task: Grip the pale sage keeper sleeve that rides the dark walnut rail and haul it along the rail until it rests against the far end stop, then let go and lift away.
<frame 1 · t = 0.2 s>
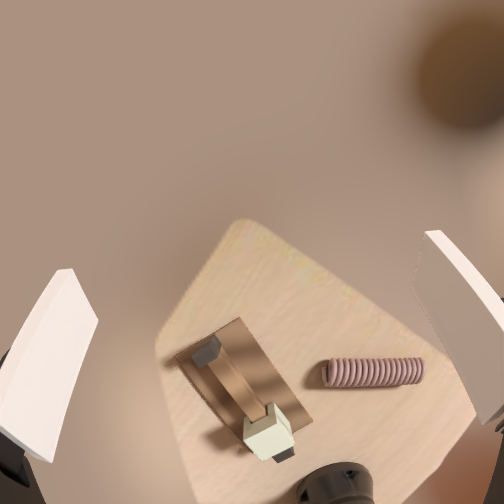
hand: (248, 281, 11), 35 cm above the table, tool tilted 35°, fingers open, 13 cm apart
keeper: (268, 431, 41), point 5 cm above the table, slide at 0.0 cm
track: (246, 391, 45), on the table
coil: (371, 367, 46), on the table
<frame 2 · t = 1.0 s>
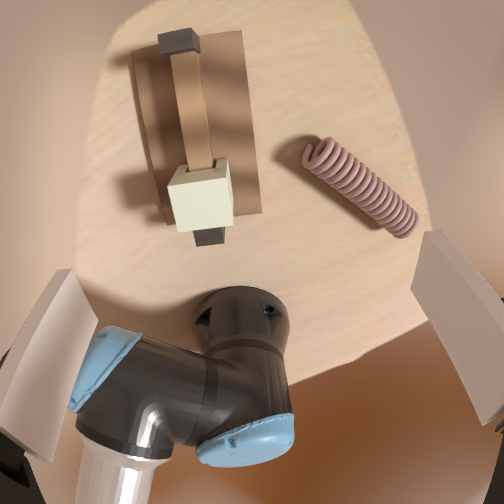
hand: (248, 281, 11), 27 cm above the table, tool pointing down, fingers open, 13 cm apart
keeper: (203, 192, 32), point 5 cm above the table, slide at 0.0 cm
track: (199, 130, 33), on the table
coil: (359, 183, 37), on the table
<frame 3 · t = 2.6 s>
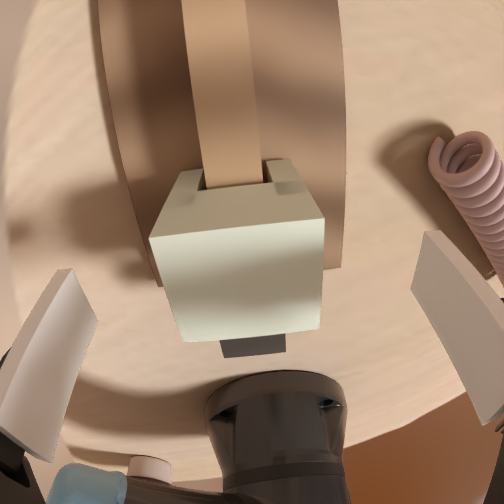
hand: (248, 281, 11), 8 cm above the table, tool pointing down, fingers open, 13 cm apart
coffee cup: (151, 460, 42), on the table
keeper: (241, 240, 14), point 5 cm above the table, slide at 0.0 cm
track: (227, 96, 14), on the table
coil: (483, 213, 19), on the table
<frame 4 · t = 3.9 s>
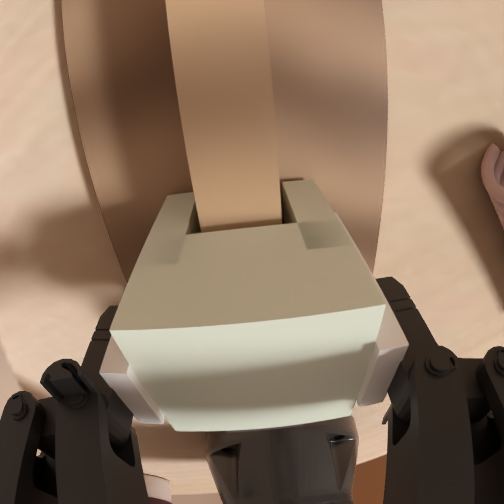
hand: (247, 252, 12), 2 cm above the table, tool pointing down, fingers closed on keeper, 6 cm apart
coffee cup: (149, 477, 38), on the table
keeper: (249, 298, 10), point 5 cm above the table, slide at 0.0 cm, touching gripper
track: (229, 92, 10), on the table
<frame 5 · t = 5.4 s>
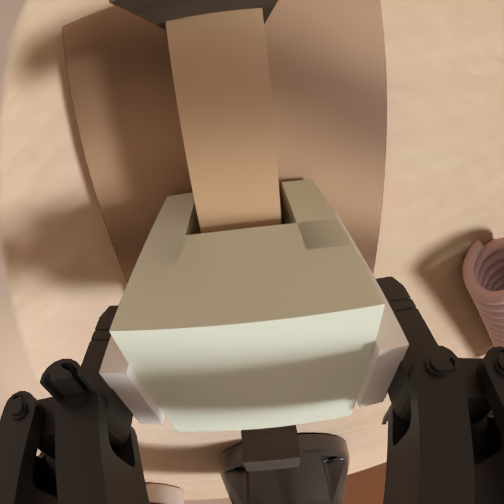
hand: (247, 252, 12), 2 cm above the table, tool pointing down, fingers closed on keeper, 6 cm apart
coffee cup: (164, 486, 42), on the table
keeper: (249, 298, 10), point 5 cm above the table, slide at 6.5 cm, touching gripper
track: (247, 239, 14), on the table
coil: (497, 300, 19), on the table
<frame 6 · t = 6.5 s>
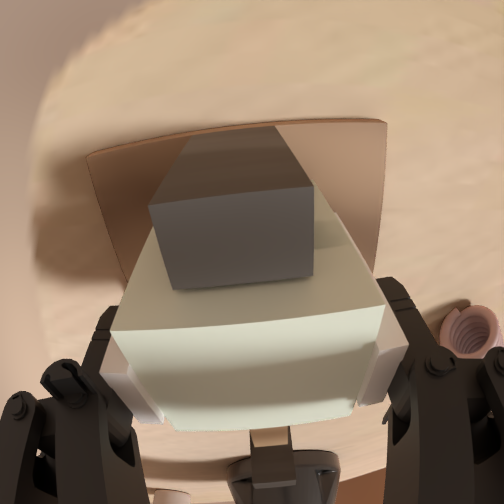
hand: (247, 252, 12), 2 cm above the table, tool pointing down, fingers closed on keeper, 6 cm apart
coffee cup: (172, 491, 45), on the table
keeper: (249, 298, 10), point 5 cm above the table, slide at 12.4 cm, touching gripper
track: (257, 327, 17), on the table
coil: (473, 346, 22), on the table
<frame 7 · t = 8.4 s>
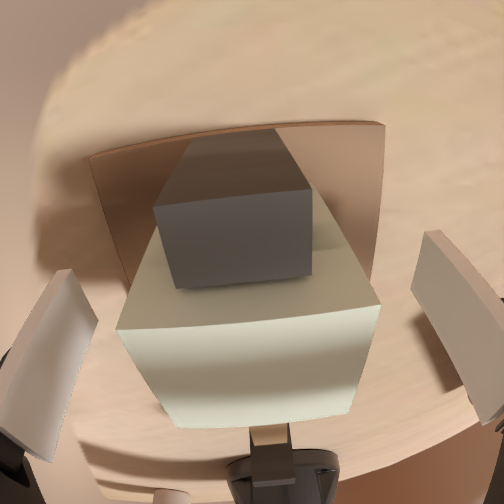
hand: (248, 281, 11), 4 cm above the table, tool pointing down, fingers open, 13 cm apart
coffee cup: (172, 491, 45), on the table
keeper: (250, 298, 10), point 5 cm above the table, slide at 12.3 cm
track: (257, 326, 17), on the table
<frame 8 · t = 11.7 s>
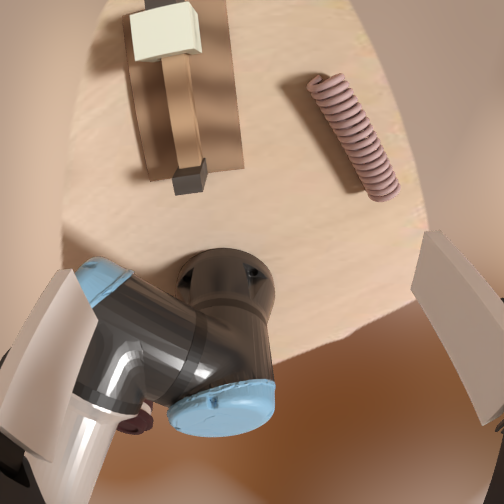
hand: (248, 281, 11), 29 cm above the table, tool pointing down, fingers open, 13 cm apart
coffee cup: (138, 366, 59), on the table
keeper: (168, 34, 24), point 5 cm above the table, slide at 12.3 cm
track: (183, 87, 31), on the table
coil: (352, 134, 36), on the table
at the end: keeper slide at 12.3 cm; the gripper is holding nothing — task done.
